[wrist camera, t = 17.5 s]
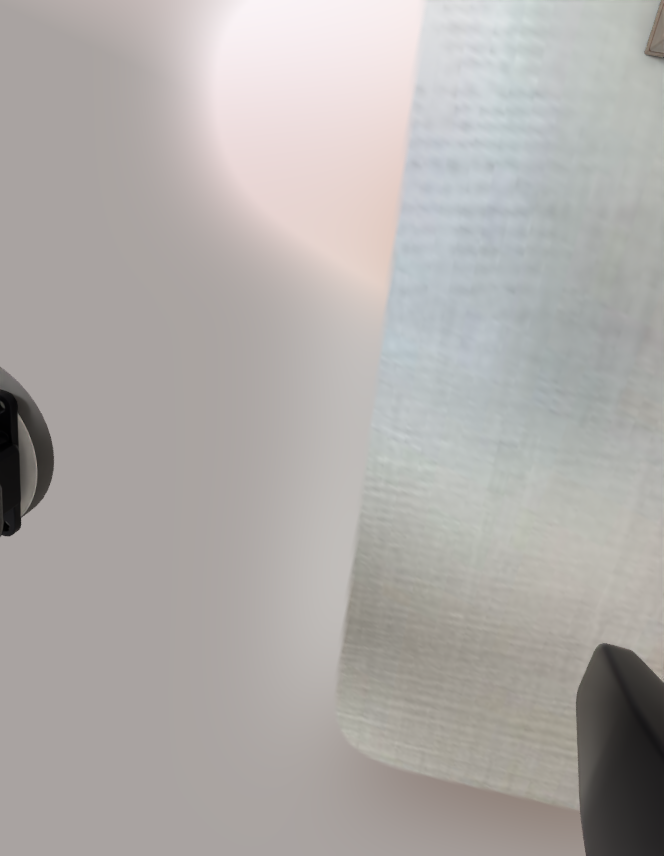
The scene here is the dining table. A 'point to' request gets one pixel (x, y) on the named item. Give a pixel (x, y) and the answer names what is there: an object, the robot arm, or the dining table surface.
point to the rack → (657, 35)
